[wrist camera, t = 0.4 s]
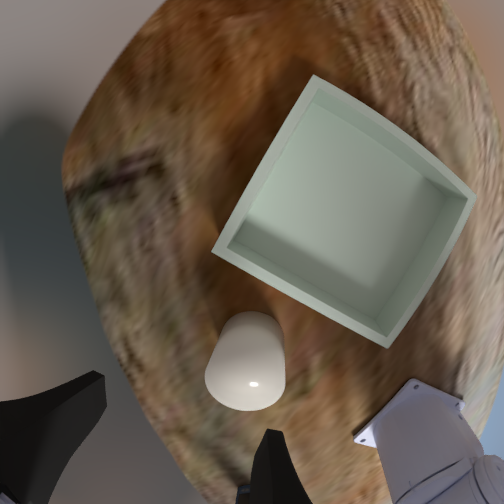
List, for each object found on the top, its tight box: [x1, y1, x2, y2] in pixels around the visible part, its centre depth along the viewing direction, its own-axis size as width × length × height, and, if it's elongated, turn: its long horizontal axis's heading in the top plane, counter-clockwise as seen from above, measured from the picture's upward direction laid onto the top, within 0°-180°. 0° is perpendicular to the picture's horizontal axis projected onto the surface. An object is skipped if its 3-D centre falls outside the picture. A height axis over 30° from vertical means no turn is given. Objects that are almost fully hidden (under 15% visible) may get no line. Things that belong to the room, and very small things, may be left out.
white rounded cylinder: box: [205, 311, 285, 411], centre depth 17 cm, size 4×4×5 cm
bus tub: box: [211, 75, 477, 349], centre depth 15 cm, size 12×11×3 cm
